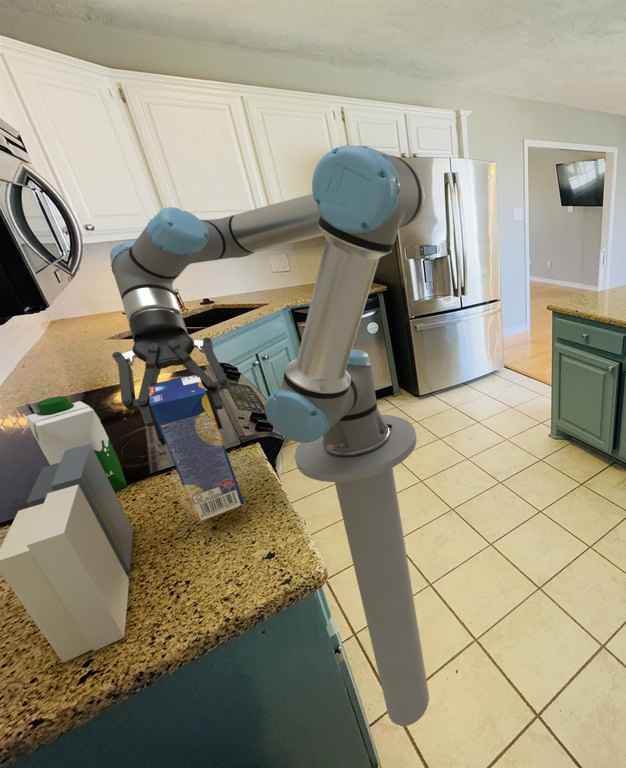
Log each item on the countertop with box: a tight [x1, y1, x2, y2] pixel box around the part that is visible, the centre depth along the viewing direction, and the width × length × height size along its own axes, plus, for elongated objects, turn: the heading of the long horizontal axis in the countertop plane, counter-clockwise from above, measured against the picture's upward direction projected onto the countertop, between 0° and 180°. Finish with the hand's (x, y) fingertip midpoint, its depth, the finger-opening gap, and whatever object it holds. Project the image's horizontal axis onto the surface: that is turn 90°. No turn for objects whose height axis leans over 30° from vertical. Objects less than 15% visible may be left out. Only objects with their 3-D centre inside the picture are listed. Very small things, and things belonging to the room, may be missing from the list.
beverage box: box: [149, 374, 245, 523], centre depth 70 cm, size 7×11×22 cm, turn 41°
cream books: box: [0, 485, 130, 664], centre depth 53 cm, size 6×12×18 cm, turn 39°
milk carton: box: [26, 395, 128, 492], centre depth 80 cm, size 9×9×20 cm
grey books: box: [25, 444, 134, 574], centre depth 63 cm, size 6×12×18 cm, turn 39°
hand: (191, 433), depth 67 cm, fingers closed on beverage box, 7 cm apart
